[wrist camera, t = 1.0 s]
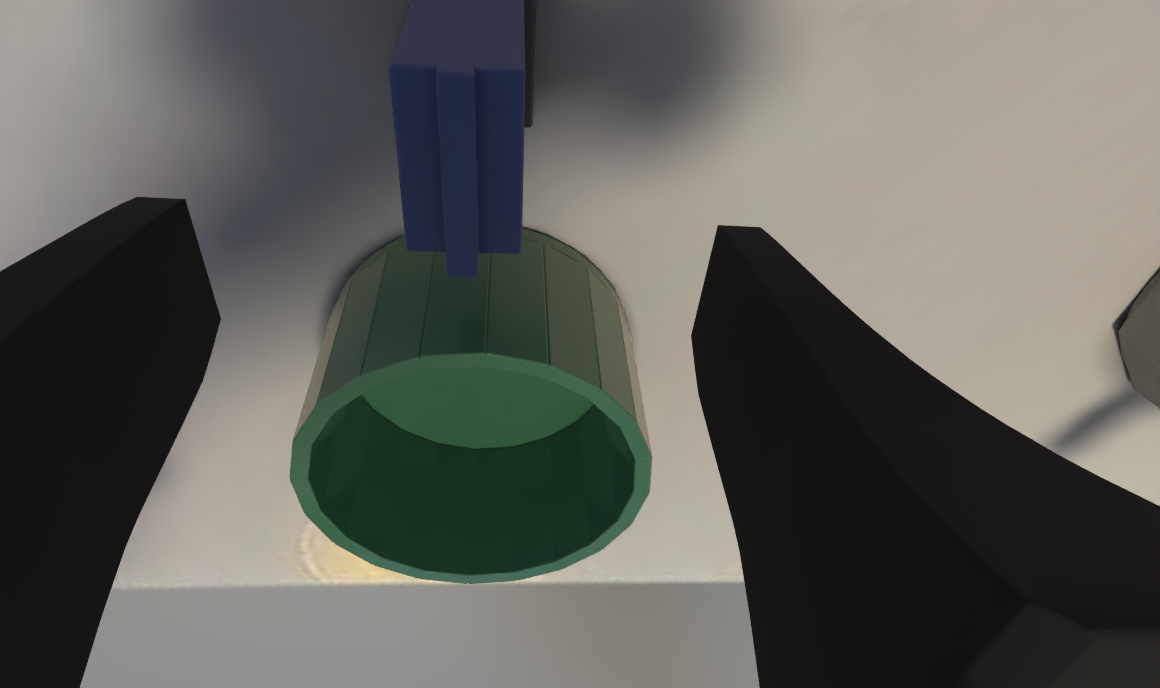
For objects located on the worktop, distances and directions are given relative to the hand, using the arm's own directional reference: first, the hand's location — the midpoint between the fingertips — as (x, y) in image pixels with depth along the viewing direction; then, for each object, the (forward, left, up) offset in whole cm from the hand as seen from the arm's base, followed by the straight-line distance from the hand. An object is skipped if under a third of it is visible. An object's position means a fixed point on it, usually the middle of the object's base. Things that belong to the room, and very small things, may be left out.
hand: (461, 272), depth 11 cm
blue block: (0, 0, -11) cm, 11 cm away
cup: (-7, -8, -11) cm, 15 cm away
